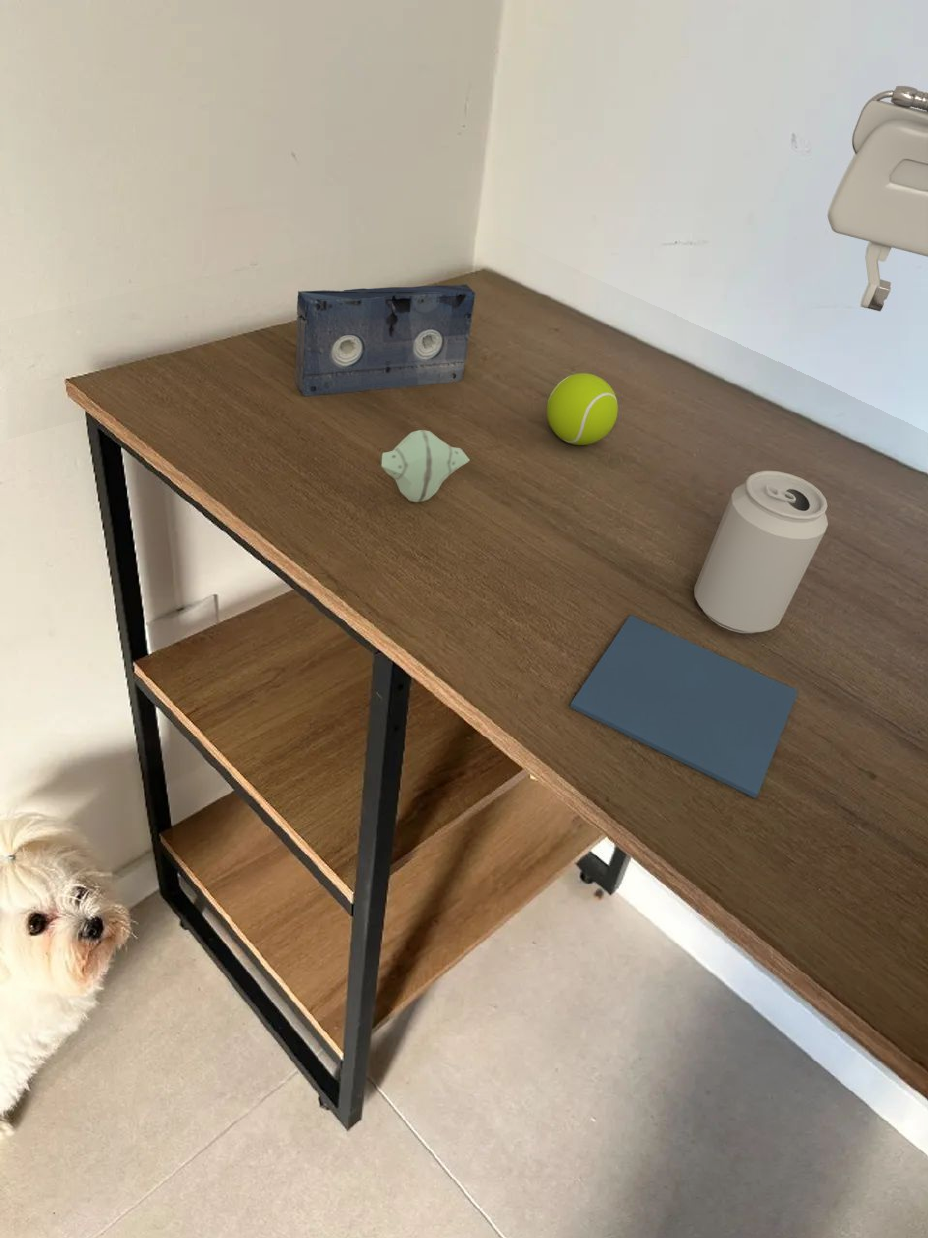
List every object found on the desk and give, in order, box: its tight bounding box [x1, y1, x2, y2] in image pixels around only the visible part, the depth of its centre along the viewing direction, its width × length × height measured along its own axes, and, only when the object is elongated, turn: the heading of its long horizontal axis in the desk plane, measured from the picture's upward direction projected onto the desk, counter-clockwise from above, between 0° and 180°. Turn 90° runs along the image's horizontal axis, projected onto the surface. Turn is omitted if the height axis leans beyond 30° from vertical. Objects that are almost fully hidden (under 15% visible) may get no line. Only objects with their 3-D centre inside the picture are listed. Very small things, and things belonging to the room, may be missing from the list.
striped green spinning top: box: [381, 429, 471, 503], centre depth 81 cm, size 8×4×7 cm, turn 110°
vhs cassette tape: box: [294, 284, 476, 397], centre depth 95 cm, size 18×3×10 cm, turn 115°
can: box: [693, 470, 829, 634], centre depth 74 cm, size 8×8×12 cm
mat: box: [569, 614, 799, 799], centre depth 69 cm, size 14×12×1 cm
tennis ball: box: [546, 372, 619, 446], centre depth 93 cm, size 7×7×7 cm
